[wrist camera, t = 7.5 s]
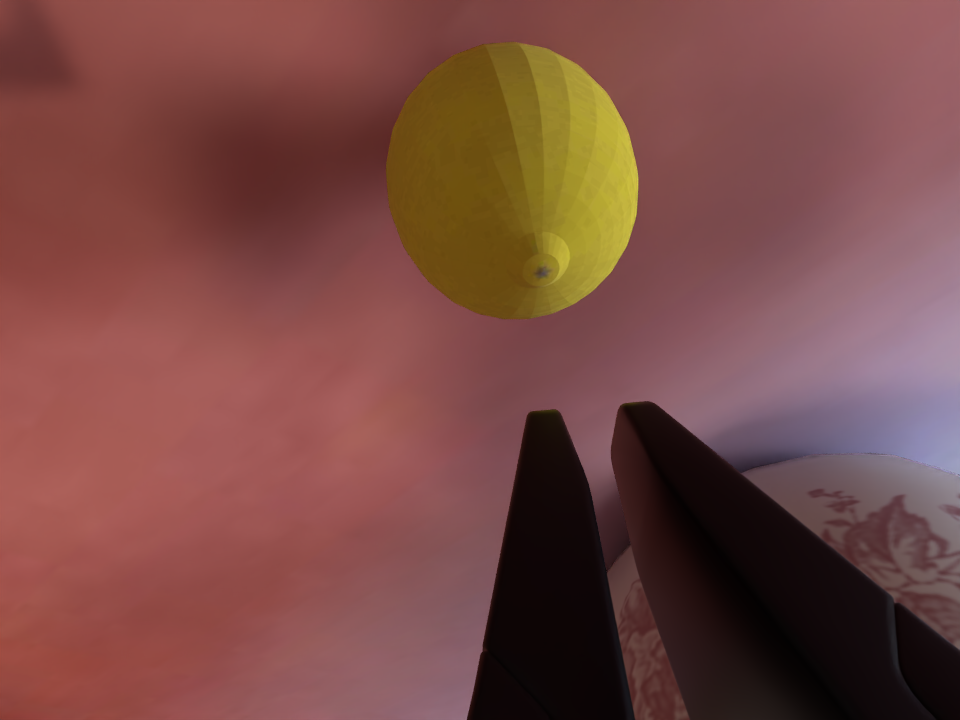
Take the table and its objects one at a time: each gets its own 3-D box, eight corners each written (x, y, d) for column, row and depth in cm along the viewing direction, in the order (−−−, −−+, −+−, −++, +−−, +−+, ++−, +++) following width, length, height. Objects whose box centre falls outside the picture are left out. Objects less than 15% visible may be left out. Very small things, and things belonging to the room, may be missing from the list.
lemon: (420, 233, 19) (437, 414, 13) (356, 44, 16) (338, 172, 10) (596, 184, 19) (696, 347, 13) (569, -20, 16) (690, 71, 9)
